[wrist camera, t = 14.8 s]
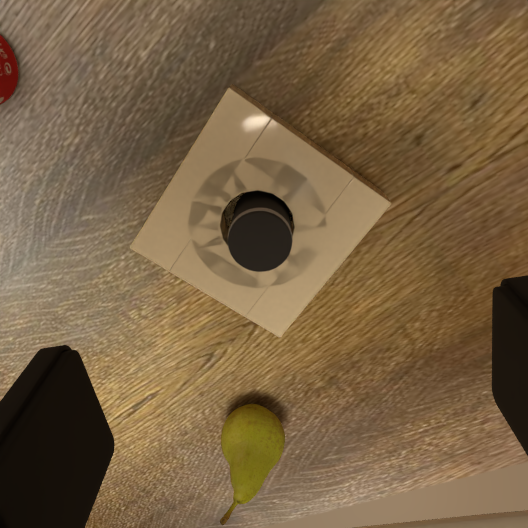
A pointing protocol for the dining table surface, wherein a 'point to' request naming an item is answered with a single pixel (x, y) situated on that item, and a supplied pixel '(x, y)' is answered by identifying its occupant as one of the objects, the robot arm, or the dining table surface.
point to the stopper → (260, 231)
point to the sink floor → (267, 180)
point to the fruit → (250, 450)
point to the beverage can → (7, 71)
